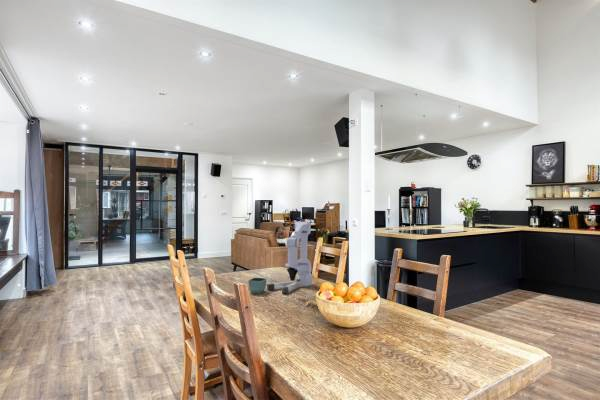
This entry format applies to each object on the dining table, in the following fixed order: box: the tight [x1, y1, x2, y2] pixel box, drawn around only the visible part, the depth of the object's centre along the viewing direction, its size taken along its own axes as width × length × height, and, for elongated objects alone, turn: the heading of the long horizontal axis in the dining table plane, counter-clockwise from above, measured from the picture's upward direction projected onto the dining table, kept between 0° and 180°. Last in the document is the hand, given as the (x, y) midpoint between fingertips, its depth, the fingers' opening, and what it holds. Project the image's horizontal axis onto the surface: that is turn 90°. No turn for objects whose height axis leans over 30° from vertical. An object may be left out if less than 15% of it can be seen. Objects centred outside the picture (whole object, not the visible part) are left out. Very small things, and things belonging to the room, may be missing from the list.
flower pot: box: [248, 277, 267, 294], centre depth 208 cm, size 9×9×9 cm
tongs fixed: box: [266, 278, 304, 292], centre depth 217 cm, size 24×5×5 cm, turn 124°
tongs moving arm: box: [281, 281, 299, 295], centre depth 211 cm, size 18×2×4 cm, turn 156°
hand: (292, 280), depth 201 cm, fingers closed
